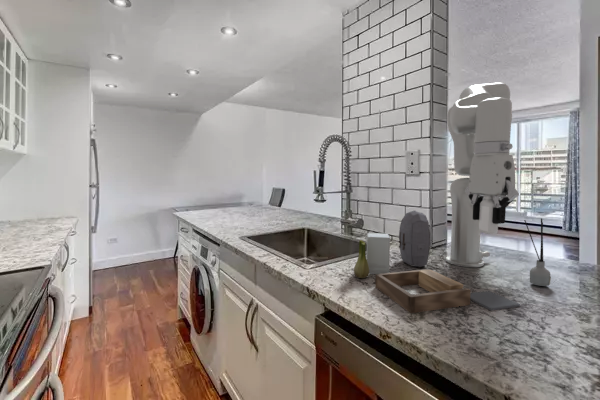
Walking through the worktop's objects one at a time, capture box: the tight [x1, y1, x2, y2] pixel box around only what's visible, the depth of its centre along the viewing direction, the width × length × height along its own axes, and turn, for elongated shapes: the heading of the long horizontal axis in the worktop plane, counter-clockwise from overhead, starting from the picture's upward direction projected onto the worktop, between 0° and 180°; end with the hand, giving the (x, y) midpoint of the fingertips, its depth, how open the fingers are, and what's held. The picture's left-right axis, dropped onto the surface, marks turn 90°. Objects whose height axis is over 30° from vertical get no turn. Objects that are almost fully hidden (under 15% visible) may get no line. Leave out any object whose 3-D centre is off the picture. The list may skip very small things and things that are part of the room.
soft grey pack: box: [398, 210, 431, 267], centre depth 110 cm, size 15×8×20 cm, turn 3°
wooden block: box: [417, 269, 464, 293], centre depth 84 cm, size 4×13×4 cm, turn 14°
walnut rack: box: [374, 268, 472, 314], centre depth 82 cm, size 17×17×4 cm
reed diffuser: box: [524, 218, 552, 287], centre depth 89 cm, size 10×7×20 cm
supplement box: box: [366, 232, 391, 275], centre depth 103 cm, size 7×7×13 cm
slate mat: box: [470, 290, 521, 311], centre depth 78 cm, size 9×9×1 cm
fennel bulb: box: [353, 240, 370, 279], centre depth 97 cm, size 6×5×12 cm
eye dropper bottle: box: [479, 195, 499, 235], centre depth 77 cm, size 4×6×12 cm
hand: (488, 220), depth 77 cm, fingers closed on eye dropper bottle, 5 cm apart
